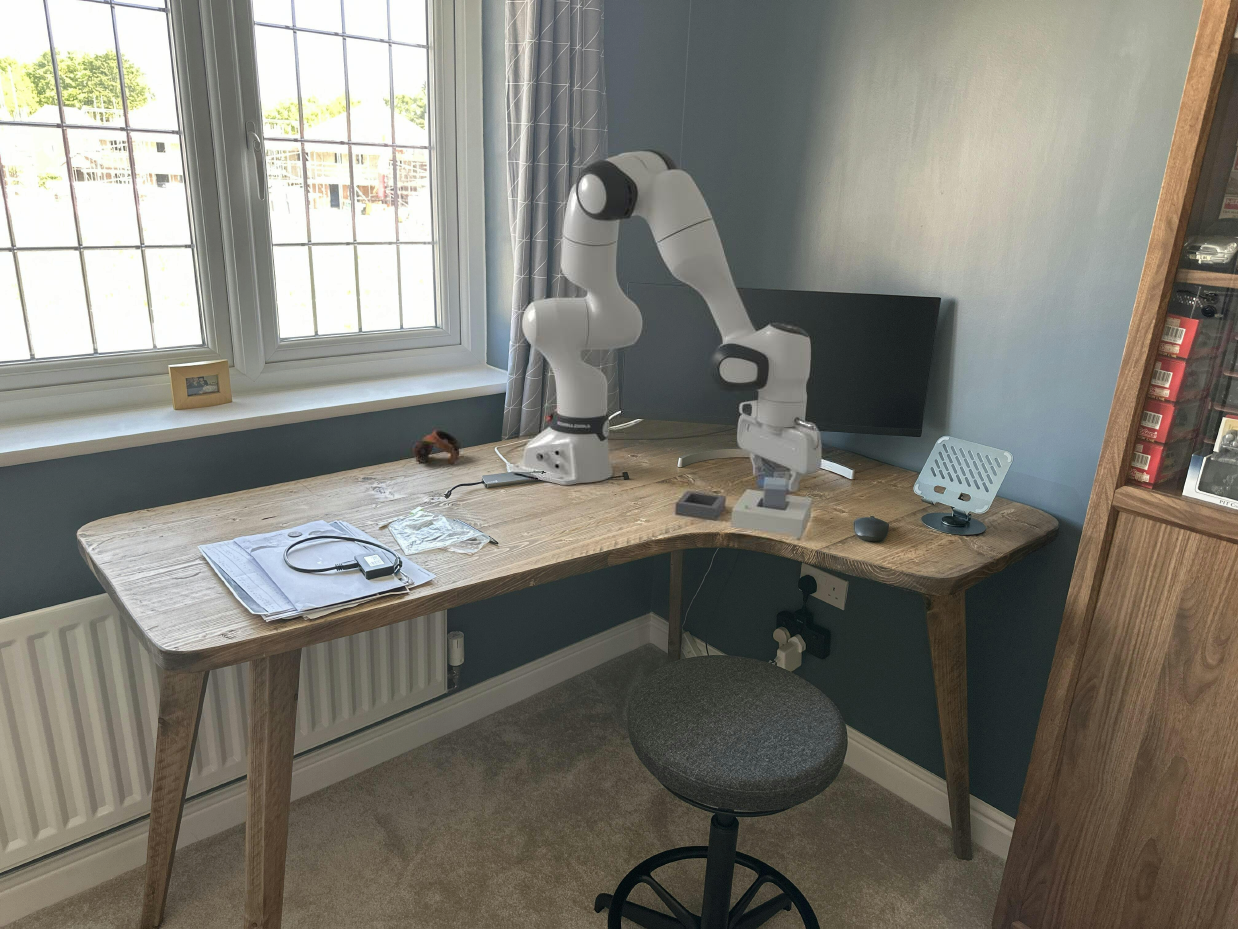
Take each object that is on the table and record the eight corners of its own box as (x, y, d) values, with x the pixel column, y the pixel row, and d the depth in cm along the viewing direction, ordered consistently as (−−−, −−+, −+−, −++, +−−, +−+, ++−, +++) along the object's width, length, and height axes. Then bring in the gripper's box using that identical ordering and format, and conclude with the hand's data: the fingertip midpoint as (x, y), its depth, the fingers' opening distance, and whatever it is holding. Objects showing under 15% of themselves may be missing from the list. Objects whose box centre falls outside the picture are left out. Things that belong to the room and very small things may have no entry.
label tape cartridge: (788, 497, 175) (793, 441, 171) (770, 498, 174) (775, 441, 170) (773, 484, 183) (777, 430, 180) (756, 485, 182) (760, 430, 179)
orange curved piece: (428, 455, 200) (445, 427, 198) (455, 478, 197) (472, 450, 195) (395, 454, 189) (413, 425, 187) (423, 479, 186) (441, 449, 184)
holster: (675, 517, 162) (675, 502, 161) (686, 504, 169) (687, 490, 168) (715, 523, 159) (716, 508, 158) (725, 510, 166) (726, 496, 166)
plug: (762, 523, 158) (765, 483, 156) (761, 516, 162) (764, 477, 160) (783, 524, 158) (787, 484, 155) (782, 517, 162) (785, 478, 159)
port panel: (730, 529, 156) (732, 507, 155) (745, 508, 168) (747, 486, 167) (800, 540, 152) (802, 517, 151) (810, 517, 164) (812, 495, 162)
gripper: (833, 424, 147) (825, 497, 151) (759, 399, 164) (753, 466, 168) (807, 427, 144) (799, 502, 148) (734, 402, 161) (728, 470, 165)
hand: (774, 483), depth 158 cm, fingers open, 8 cm apart
